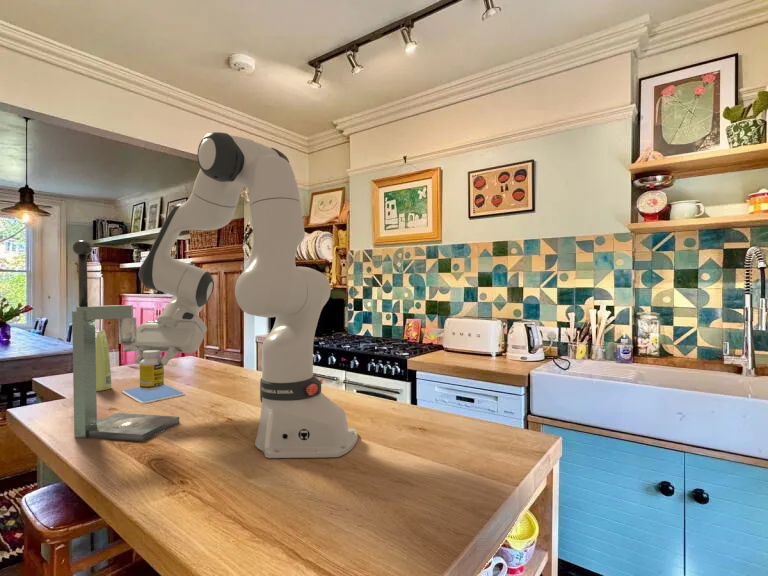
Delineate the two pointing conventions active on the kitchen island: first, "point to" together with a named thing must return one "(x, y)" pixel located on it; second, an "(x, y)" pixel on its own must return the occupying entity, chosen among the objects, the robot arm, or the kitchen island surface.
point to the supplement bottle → (151, 371)
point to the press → (85, 368)
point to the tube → (102, 362)
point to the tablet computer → (152, 394)
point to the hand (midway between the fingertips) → (149, 363)
